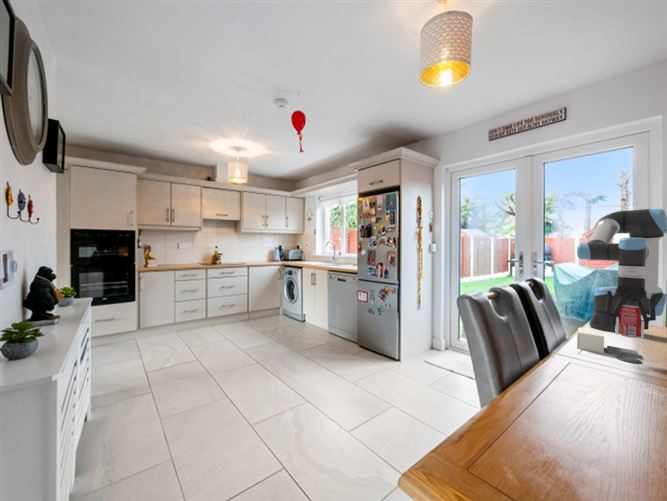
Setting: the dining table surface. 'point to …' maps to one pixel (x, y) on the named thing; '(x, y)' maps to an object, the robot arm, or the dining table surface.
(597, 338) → the large cream box
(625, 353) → the slate tile
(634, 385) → the dining table surface
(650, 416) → the dining table surface
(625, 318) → the beverage can
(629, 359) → the coaster
